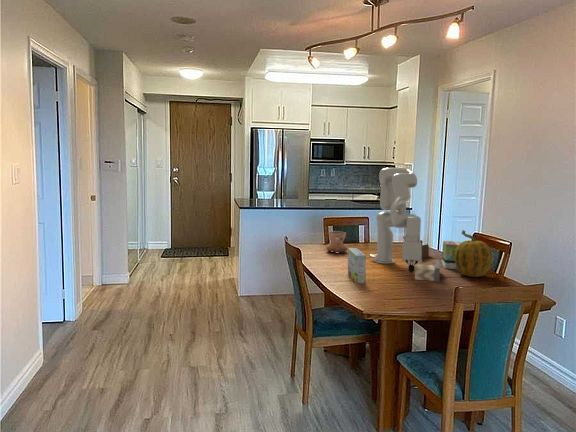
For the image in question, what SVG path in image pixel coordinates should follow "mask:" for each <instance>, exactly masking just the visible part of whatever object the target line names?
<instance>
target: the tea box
mask: <svg viewBox="0 0 576 432" xmlns="http://www.w3.org/2000/svg"><path fill="white" fill-rule="evenodd" d="M460 243H461V242H460V241H455V240H454V241H453V240H443V241H442V254H441V255H442V256H441V264H442V265H443V268H444V269H447V270H448V269H449V270H457V268H456V264H455V251H456V248H457V246H458V245H459V244H460Z"/></svg>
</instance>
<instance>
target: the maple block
mask: <svg viewBox="0 0 576 432" xmlns="http://www.w3.org/2000/svg"><path fill="white" fill-rule="evenodd" d="M434 278H435V264H419V263H417V264H415V266H414V280H417V281H431V282H435V281H434Z"/></svg>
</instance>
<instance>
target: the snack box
mask: <svg viewBox="0 0 576 432" xmlns="http://www.w3.org/2000/svg"><path fill="white" fill-rule="evenodd" d="M366 258H367V256H366V254H365V253H363V252H362V251H361V250H360V249H358V248H357V247H347V274H349V275H348V276H349V277H350V278H351V279H352V280H353V282H354V283H355V284H356V285H361V284H364V285H365V284H366V279H367V278H366V274H367V273H366V268H367V267H366V266H367V264H366V261H367V259H366Z"/></svg>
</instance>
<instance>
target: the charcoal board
mask: <svg viewBox="0 0 576 432" xmlns="http://www.w3.org/2000/svg"><path fill="white" fill-rule="evenodd" d="M434 265H435V278H434V281H433V282H438V283H439V282H440V274H441V273H440V272H441V267H440V260H437V259H436V260H434Z"/></svg>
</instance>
